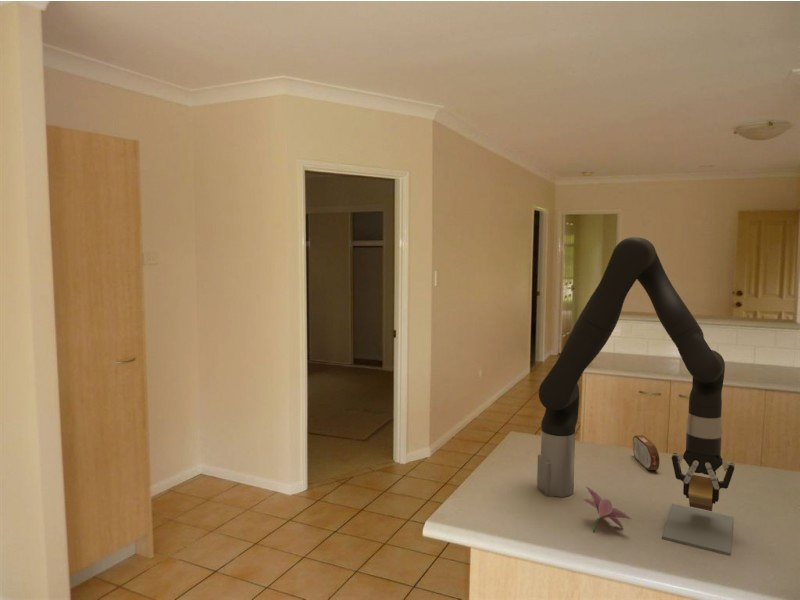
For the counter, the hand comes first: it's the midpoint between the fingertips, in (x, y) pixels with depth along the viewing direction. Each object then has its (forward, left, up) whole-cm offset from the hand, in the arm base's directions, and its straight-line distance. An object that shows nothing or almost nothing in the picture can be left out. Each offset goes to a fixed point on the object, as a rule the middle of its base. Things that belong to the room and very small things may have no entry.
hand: (700, 499), depth 139 cm
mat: (-1, -1, -7) cm, 7 cm away
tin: (+11, +38, -7) cm, 40 cm away
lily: (-23, +4, -7) cm, 25 cm away
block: (+3, +3, -2) cm, 5 cm away
